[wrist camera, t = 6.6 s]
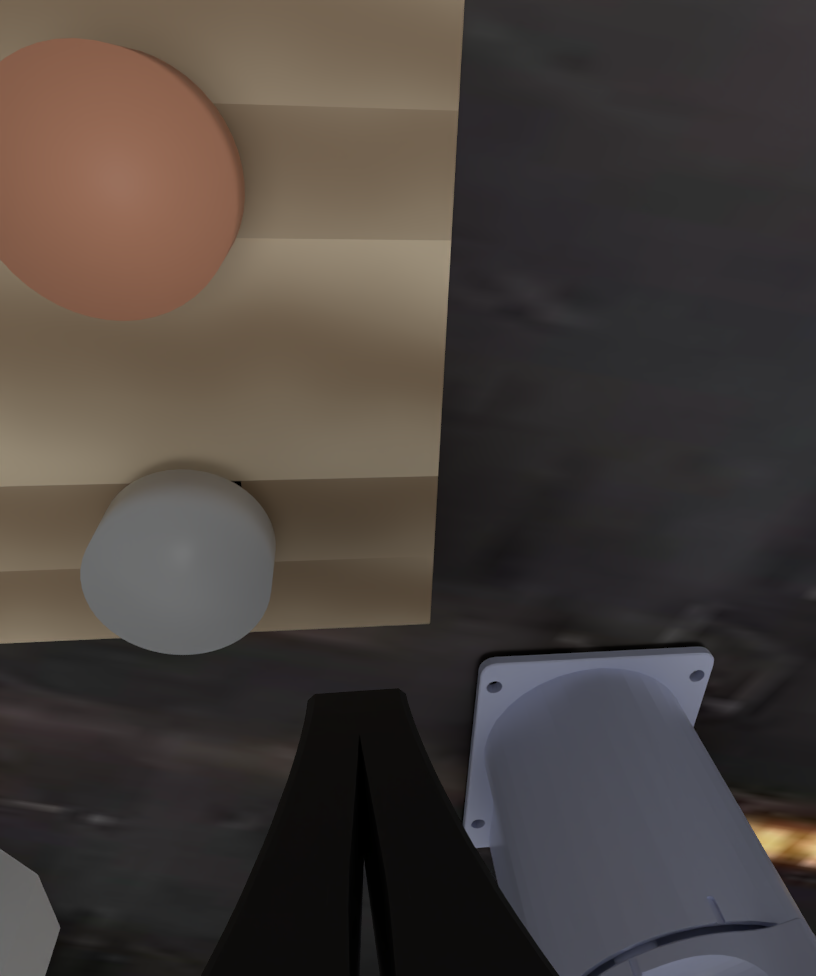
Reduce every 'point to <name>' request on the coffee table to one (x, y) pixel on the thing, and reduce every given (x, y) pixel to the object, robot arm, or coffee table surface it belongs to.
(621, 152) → the coffee table surface
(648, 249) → the coffee table surface
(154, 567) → the grey plunger
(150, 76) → the rust plunger
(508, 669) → the robot arm
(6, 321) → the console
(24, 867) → the container
